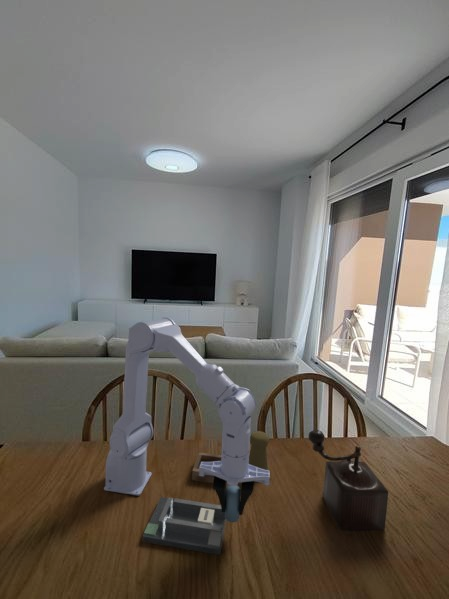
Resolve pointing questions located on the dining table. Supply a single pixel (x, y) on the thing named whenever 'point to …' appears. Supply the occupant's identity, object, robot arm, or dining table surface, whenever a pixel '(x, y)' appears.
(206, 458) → the stylus holder
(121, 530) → the dining table surface
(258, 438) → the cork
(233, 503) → the blue rounded cylinder
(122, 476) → the robot arm
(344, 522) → the manual coffee grinder
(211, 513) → the plate
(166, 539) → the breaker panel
